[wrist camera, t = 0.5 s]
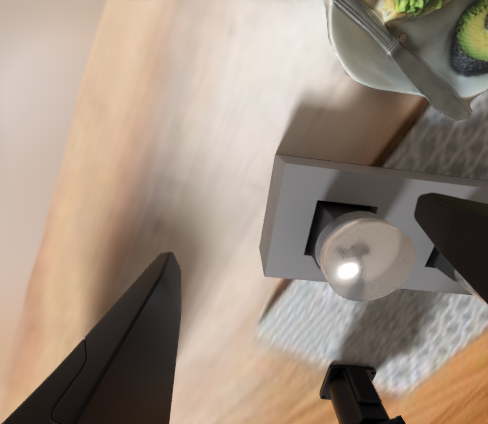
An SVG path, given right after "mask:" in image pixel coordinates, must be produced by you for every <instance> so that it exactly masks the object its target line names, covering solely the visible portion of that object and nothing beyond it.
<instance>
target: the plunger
mask: <svg viewBox="0 0 488 424" xmlns="http://www.w3.org/2000/svg"><path fill="white" fill-rule="evenodd" d="M306 247H307V249H308V250H309V252H310V254H311V256H312V258H313V260H314V261H315V263H316V265H317V267H318V269H321V270H322V272H323V274H324V275H325V277H326V279H327V281H328V283H329V284H330V286H331V287H332V289H333V290H334V291H335V292H336V293H337V294H338V295H340V296H342V297H343V298H346V299H349V300H352V301H371V300H376V299H379V298H382V297H385V296H387V295H389V294H390V293H392V292H394V291H395V290H396V289H398V288H399V287H400V286H401V285H402V284H403V283H404V282H405V281H406V280H407V279H408V277H409V276H410V274H411V272H412V270H413V268H414V265H415V259H416V252H415V247H414V245H413V242H412V241H411V239H410V238H409V237H408V236H407V235H406V234H405V233H404V232H402V231H401V230H399V229H398V228H396V227H395V226H393V225H392V224H390V223H389V222H387V221H386V220H384V219H383V218H381V217H380V216H379V215H377V214H376V213H374V212H373V211H371V210H370V209H368V208H367V207H365V206H364V205H357V204H348V203H339V202H331V201H322V200H317V203H316V207H315V211H314V215H313V219H312V223H311V227H310V232H309V236H308V240H307V244H306Z"/></svg>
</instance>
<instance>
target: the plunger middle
mask: <svg viewBox="0 0 488 424" xmlns="http://www.w3.org/2000/svg"><path fill="white" fill-rule="evenodd" d="M427 261H428V262H429V263H430V264H432V265H433V266H434V267H436V268H437V269H438V270H440V271H441V272H442V273H444V274H445V275H446V276H448V277H449V278H450V279H452V280H453V281H455V282H458V283H459V284H460V285H461V286H462V287H463V288H465V289H466V290H467V291H469V292H470V293H472V294H473V295H474V296H476V297H477V298H478V299H480V300H481V301H482V302H484V303H485V304H486V305H488V304H487V303H486V302H485V301H484V300H483V299H482V298H481V297H480V296H479V295H478V294H477V292H476V291H475V290H474V289H473V288H472V287H471V286H470V285H469V284H468V283H467V282H466V281H465V279H464V278H463V277H462V276H461V275H460V274H459V273H458V272H457V271H456V270H455V269H454V268H453V267H452V265H451V264H450V263H449V262H448V261H447V260H446V259H445V258H444V257H443V256H442V254H441V253H440V252H439V251H438V249H437V248H436V247H435V245H434V248H433V250H432V252H431V254H430V256H429V258H428V260H427Z"/></svg>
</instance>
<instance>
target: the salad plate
mask: <svg viewBox="0 0 488 424" xmlns="http://www.w3.org/2000/svg"><path fill="white" fill-rule="evenodd" d="M323 2H324V5H325V8H326V17H327V27H328V37H329V40H330V43H331V45H332V47H333V49H334V52H335V54H336V56H337V58H338V60H339V62H340V63H341V65H342V67H343V69H344V71H345V73H346V74H347V75H348V76H350V77H352V78H353V79H354V80H355V81H357V82H358V83H360V84H363V85H365V86H368V87H372V88H375V89H379V90H383V91H394V92H400V93H407V94H414V95H419V96H422V97H424V98H426V99H427V100H428V101H429V103H430V104H431V105H432V106H433V107H434V108H435V109H436V110H437V111H439V112H440V113H442V114H443V115H444V116H446V117H448V118H450V119H452V120H453V121H458V120H462V119H469V117H470V115H471V112H472V109H471V107H470V102H471V101H472V100H473V99H474V98H475V97H477V96H478V95H480V94H481V93H483V92H484V91H486V90H488V0H323ZM401 33H405V34H406V35H407V39H406V41H405V42H404V43H403V44H402V43H400V42H399V37H400V35H401Z"/></svg>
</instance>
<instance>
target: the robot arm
mask: <svg viewBox="0 0 488 424" xmlns="http://www.w3.org/2000/svg"><path fill="white" fill-rule="evenodd" d="M414 218H415V220H416V222H417V223H418V224H419V226H420V227H421V228H422V230H423V231H424V232H425V234H426V235H427V236H428V238H429V239H430V240H431V242H432V243H433V244H434V245H435V247H436V248H437V249H438V251H439V252H440V253H441V254H442V256H443V257H444V258H445V259H446V260H447V261H448V262H449V263H450V264H451V265H452V267H453V268H454V269H455V270H456V271H457V272H458V273H459V274H460V275H461V276H462V277H463V278H464V279H465V281H466V282H467V283H468V284H469V285H470V286H471V287H472V288H473V289H474V290H475V291H476V292H477V294H478V295H479V296H480V297H481V298H482V299H483V300H484V301H485V302H486V303H487V304H488V204H486V203H481V202H476V201H472V200H467V199H462V198H458V197H453V196H448V195H443V194H439V193H434V192H431V193H426V194H422V195H420V196H419V197H418V199H417V203H416V207H415V212H414ZM180 320H181V269H180V266H179V264H178V262H177V260H176V258H175V256H174V254H173V253H172V252H170V251H169V252H165V253H161V254H159V255H158V256H157V258H156V259H155V260H154V261H153V262H152V263H151V264H150V265H149V266H148V268H147V269H146V270H145V271H144V272H143V273H142V274H141V275H140V276H139V278H138V279H137V280H136V281H135V282H134V283H133V284H132V285H131V286H130V288H129V289H128V290H127V291H126V292H125V293H124V294H123V295H122V297H121V298H120V299H119V300H118V301H117V302H116V303H115V304H114V305H113V307H112V308H111V309H110V310H109V311H108V312H107V313H106V314H105V315H104V317H103V318H102V319H101V320H100V321H99V322H98V323H97V324H96V325H95V327H94V328H93V329H92V330H91V331H90V332H89V333H88V334H87V335H86V337H85V339H83V340H82V341H81V342H80V343H79V344H78V345H77V347H76V348H75V349H74V350H73V351H72V352H71V353H70V354H69V355H68V356H67V358H66V359H65V360H64V361H63V362H62V363H61V364H60V365H59V366H58V367H57V368H56V369H55V370H54V371H53V373H52V374H51V375H50V376H49V377H48V378H47V379H46V380H45V381H44V382H43V383H42V384H41V385H40V386H39V387H38V388H37V389H36V390H35V391H34V392H33V393H32V394H31V395H30V396H29V397H28V398H27V399H26V400H25V401H24V402H23V403H22V404H21V405H20V406H19V407H18V408H17V409H16V410H15V411H14V412H13V413H12V414H11V415H10V416H9V417H8V418H7V419H6V420H5V421H4V422H3V423H2V424H169V421H170V412H171V402H172V393H173V384H174V375H175V366H176V357H177V348H178V339H179V330H180ZM375 375H376V370H375V369H374V368H370V367H354V366H339V365H332V366H330V367H329V370H328V372H327V375H326V378H325V381H324V383H323V386H322V389H321V392H320V398H321V399H328V400H331V401H332V404H333V407H334V410H335V413H336V416H337V419H338V422H339V424H406V423H405V422H404V420H403V418H402V417H401V415H400V416H396V418H393V419H390V418H389V416H388V414H387V412H386V410H385V408H384V406H383V405H382V401H381V399H380V397H379V395H378V393H377V391H376V389H375V387H374V385H373V383H372V381H373V379H374V377H375Z"/></svg>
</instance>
